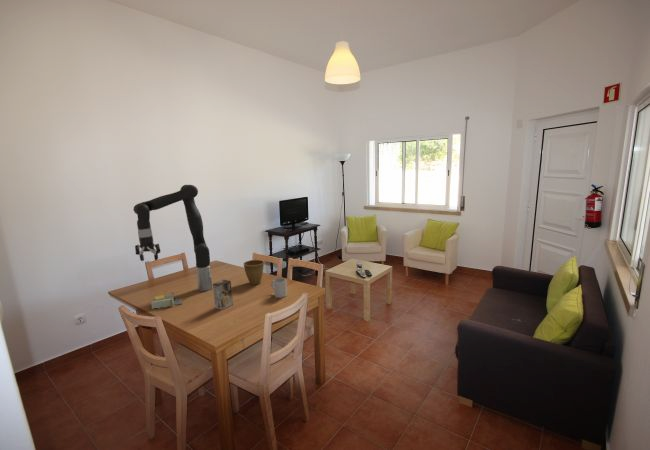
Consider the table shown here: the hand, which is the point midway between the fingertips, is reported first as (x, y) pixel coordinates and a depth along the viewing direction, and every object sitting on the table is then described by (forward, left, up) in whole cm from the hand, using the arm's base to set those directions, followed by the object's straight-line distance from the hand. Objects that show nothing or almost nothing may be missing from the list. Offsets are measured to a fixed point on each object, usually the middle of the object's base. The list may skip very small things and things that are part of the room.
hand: (149, 260), depth 200 cm
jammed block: (-4, +5, -29) cm, 30 cm away
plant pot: (-66, -8, -30) cm, 73 cm away
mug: (-77, +21, -30) cm, 85 cm away
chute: (-7, +5, -29) cm, 31 cm away
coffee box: (-41, +24, -30) cm, 56 cm away
